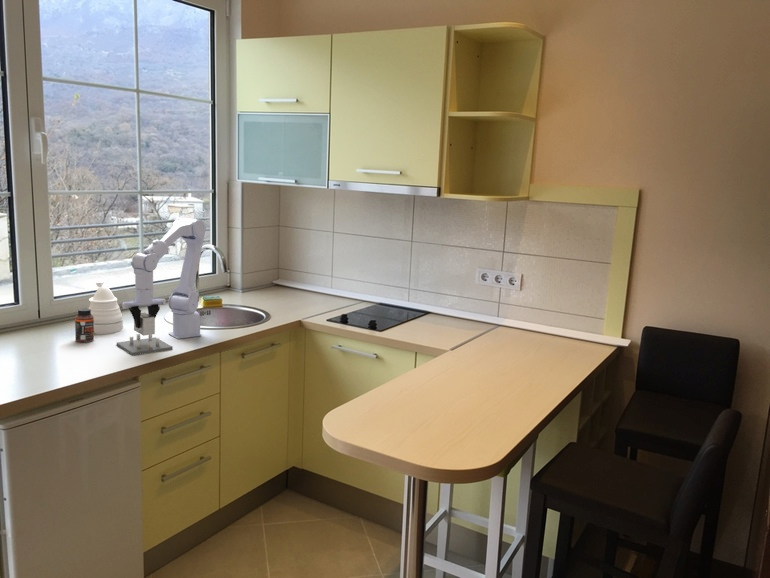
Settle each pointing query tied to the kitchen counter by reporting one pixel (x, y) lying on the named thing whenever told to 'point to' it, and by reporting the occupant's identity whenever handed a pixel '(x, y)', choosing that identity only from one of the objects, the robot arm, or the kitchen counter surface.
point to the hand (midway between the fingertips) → (144, 326)
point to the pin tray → (143, 345)
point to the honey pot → (105, 311)
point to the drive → (146, 324)
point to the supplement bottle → (84, 326)
